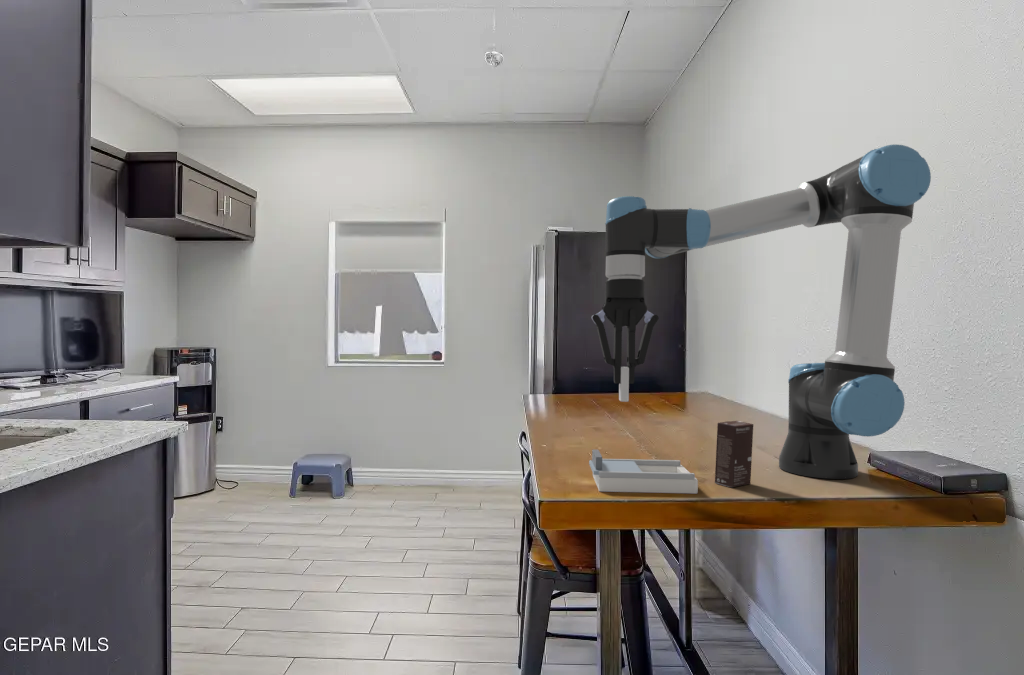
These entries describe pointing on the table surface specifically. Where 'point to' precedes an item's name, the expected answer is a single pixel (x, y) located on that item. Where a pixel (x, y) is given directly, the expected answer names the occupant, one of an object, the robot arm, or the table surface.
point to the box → (733, 453)
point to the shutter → (610, 464)
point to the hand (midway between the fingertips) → (623, 400)
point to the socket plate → (649, 478)
